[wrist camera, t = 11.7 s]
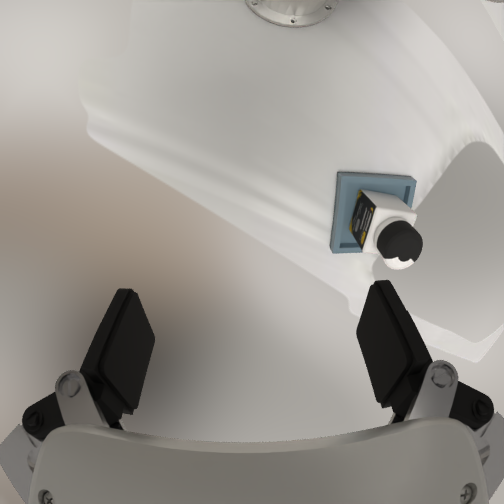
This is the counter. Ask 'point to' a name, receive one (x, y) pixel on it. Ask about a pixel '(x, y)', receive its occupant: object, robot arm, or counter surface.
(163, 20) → the counter surface
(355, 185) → the tray
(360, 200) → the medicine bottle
